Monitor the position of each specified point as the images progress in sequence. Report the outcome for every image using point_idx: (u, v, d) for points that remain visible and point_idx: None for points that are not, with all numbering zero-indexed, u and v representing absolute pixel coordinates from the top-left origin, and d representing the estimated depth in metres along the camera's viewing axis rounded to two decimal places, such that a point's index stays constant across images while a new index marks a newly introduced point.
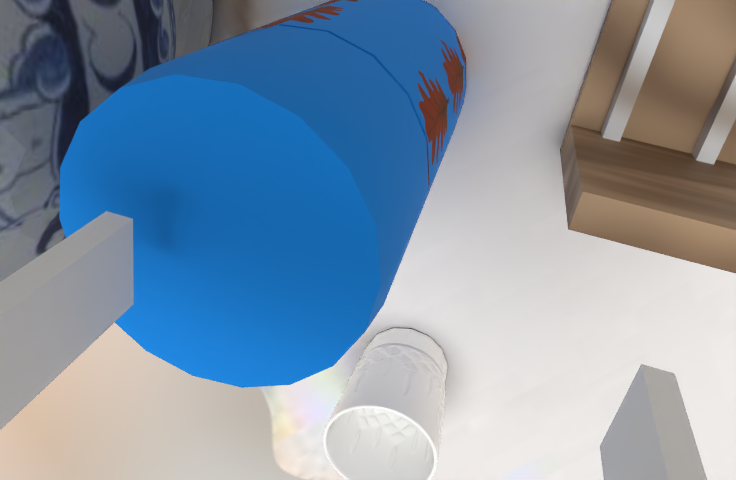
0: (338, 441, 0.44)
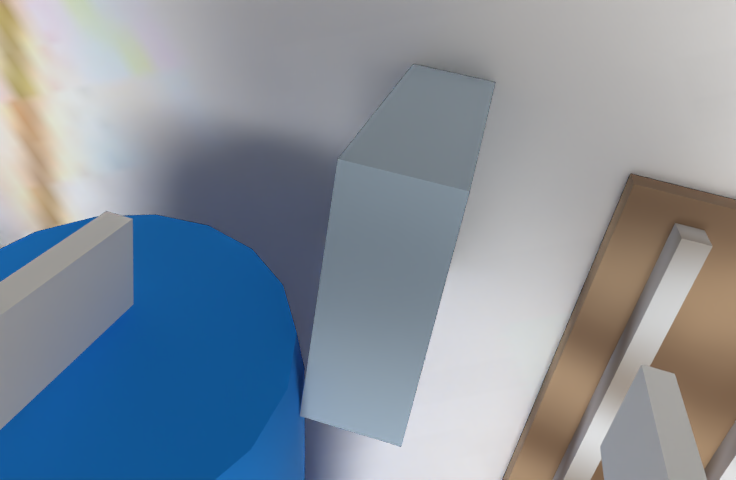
0: None
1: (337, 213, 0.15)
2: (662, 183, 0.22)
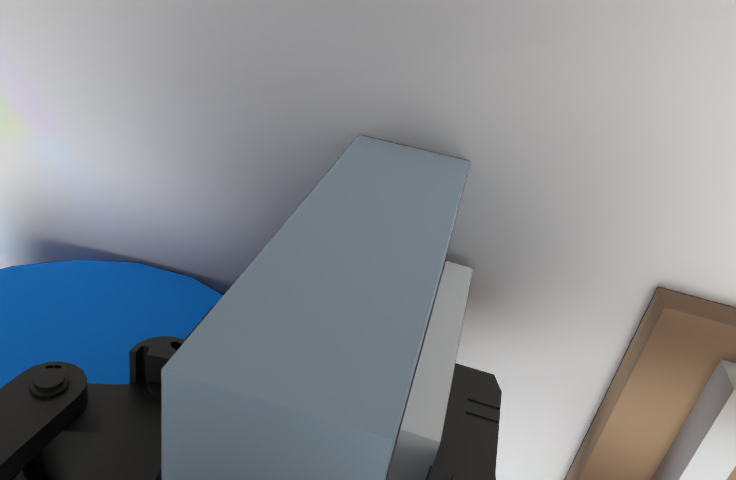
0: None
1: (174, 448, 0.08)
2: (702, 302, 0.16)
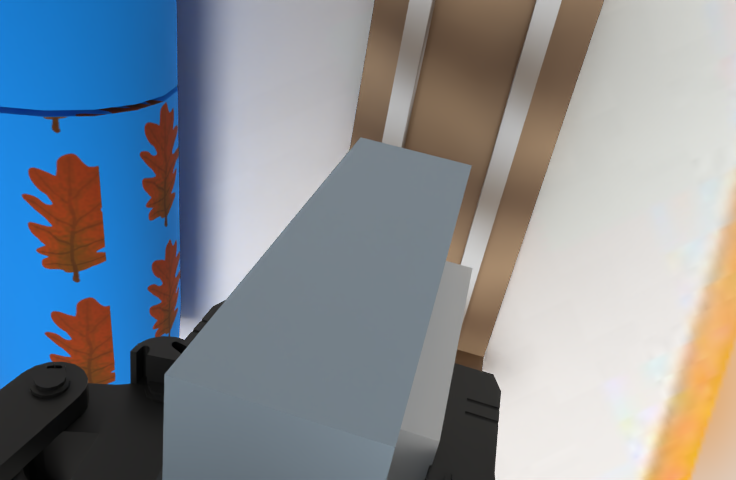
0: None
1: (176, 453, 0.08)
2: None
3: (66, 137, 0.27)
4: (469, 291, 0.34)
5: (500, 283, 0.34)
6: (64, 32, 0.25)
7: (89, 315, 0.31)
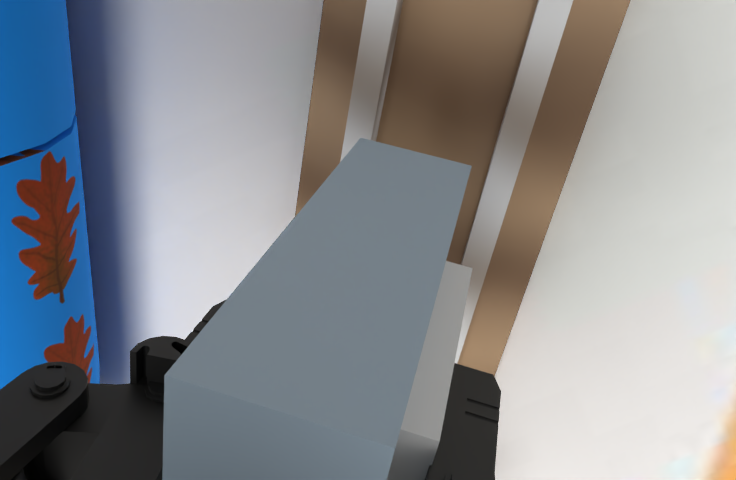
0: None
1: (176, 454, 0.08)
2: None
3: None
4: None
5: (486, 369, 0.28)
6: None
7: None
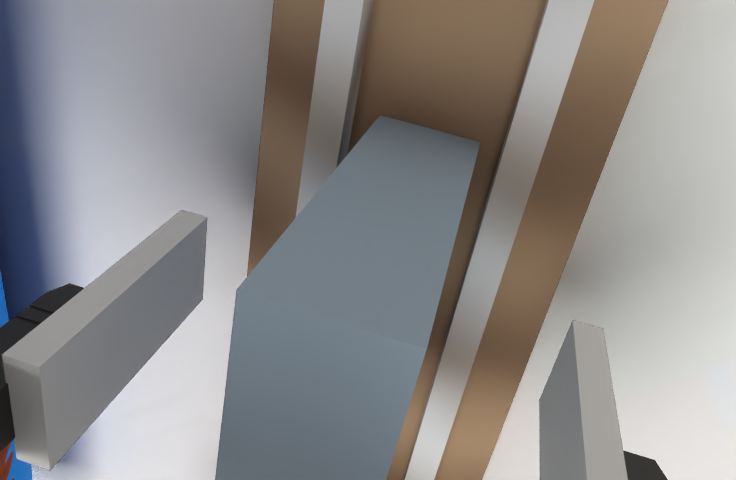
0: None
1: (240, 360, 0.10)
2: None
3: None
4: (430, 478, 0.22)
5: (477, 460, 0.23)
6: None
7: None
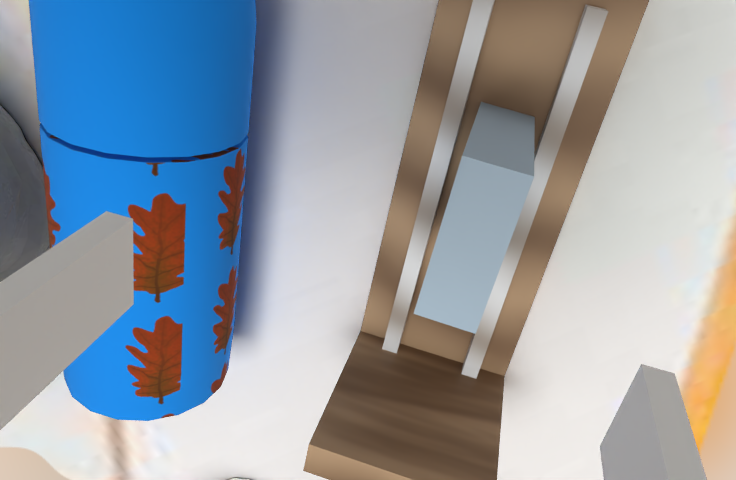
0: None
1: (457, 186, 0.26)
2: None
3: (162, 179, 0.31)
4: (495, 317, 0.38)
5: (522, 311, 0.39)
6: (170, 94, 0.29)
7: (164, 331, 0.35)
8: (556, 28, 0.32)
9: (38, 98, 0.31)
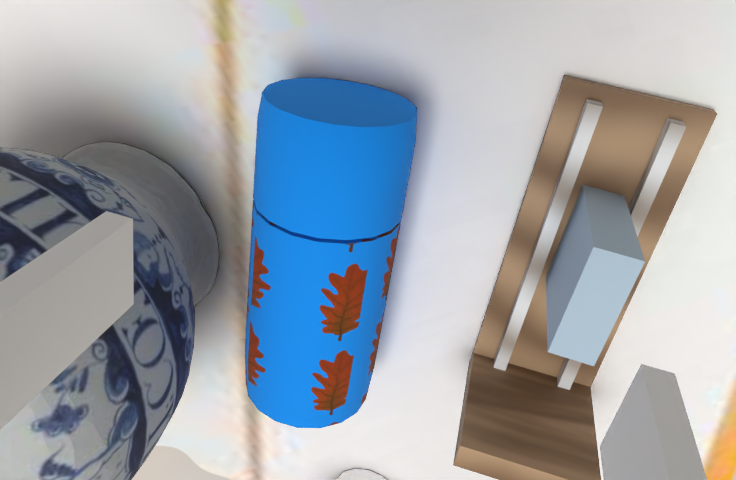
0: None
1: (588, 266, 0.37)
2: (580, 79, 0.43)
3: (354, 254, 0.42)
4: None
5: None
6: (367, 196, 0.40)
7: (341, 361, 0.47)
8: (644, 134, 0.42)
9: (260, 195, 0.42)
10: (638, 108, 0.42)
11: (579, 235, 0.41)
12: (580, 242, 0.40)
